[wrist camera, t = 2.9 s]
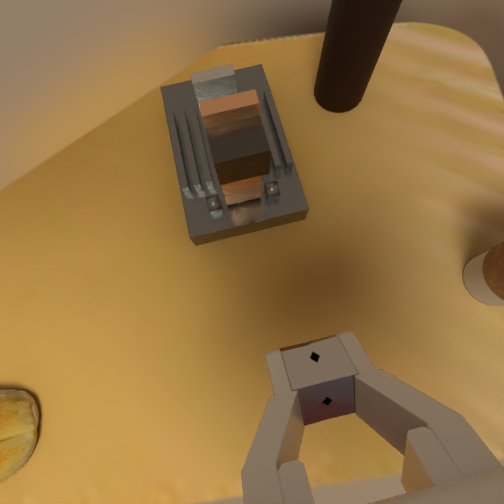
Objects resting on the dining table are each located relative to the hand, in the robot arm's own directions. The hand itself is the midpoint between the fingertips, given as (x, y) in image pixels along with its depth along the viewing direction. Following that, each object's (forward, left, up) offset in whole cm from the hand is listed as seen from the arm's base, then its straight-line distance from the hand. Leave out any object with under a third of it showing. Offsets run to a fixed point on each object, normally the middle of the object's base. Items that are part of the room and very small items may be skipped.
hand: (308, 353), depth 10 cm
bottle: (+6, +34, -24) cm, 42 cm away
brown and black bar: (-5, +14, -20) cm, 25 cm away
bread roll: (-28, -12, -24) cm, 39 cm away
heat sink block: (-8, +23, -24) cm, 34 cm away
